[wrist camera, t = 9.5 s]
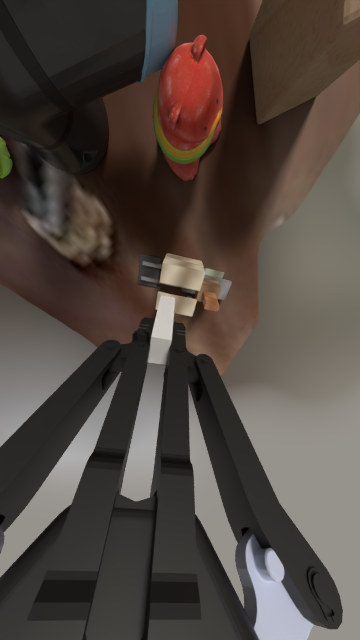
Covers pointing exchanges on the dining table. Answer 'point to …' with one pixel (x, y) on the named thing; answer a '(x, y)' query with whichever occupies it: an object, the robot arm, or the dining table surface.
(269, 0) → the wooden block
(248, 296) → the dining table surface
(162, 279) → the tunnel
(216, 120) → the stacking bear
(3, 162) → the potted flower
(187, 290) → the sled
